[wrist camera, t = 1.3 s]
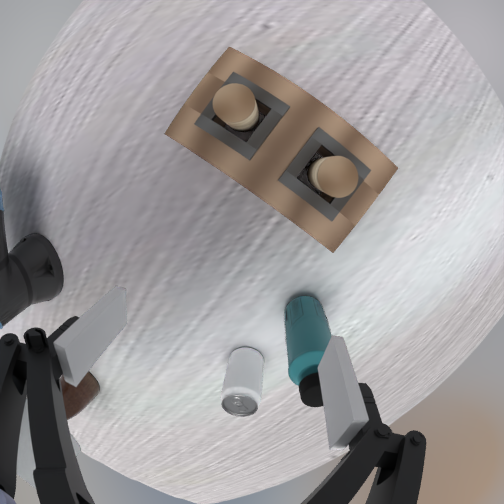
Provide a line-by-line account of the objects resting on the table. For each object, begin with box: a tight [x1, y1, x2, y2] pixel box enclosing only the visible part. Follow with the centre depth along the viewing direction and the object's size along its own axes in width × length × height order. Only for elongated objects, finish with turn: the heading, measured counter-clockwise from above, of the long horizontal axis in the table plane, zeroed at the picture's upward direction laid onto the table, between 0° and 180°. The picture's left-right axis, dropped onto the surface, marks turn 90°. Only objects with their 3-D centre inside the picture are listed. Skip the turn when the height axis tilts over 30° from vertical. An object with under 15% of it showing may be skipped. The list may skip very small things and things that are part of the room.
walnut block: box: [165, 47, 398, 253], centre depth 33 cm, size 26×14×8 cm, turn 55°
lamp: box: [16, 372, 100, 488], centre depth 39 cm, size 19×19×37 cm
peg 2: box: [307, 156, 358, 198], centre depth 27 cm, size 4×4×8 cm
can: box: [221, 347, 264, 417], centre depth 42 cm, size 6×6×12 cm
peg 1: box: [213, 83, 259, 132], centre depth 26 cm, size 4×4×8 cm
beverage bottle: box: [284, 296, 331, 407], centre depth 34 cm, size 6×7×20 cm
